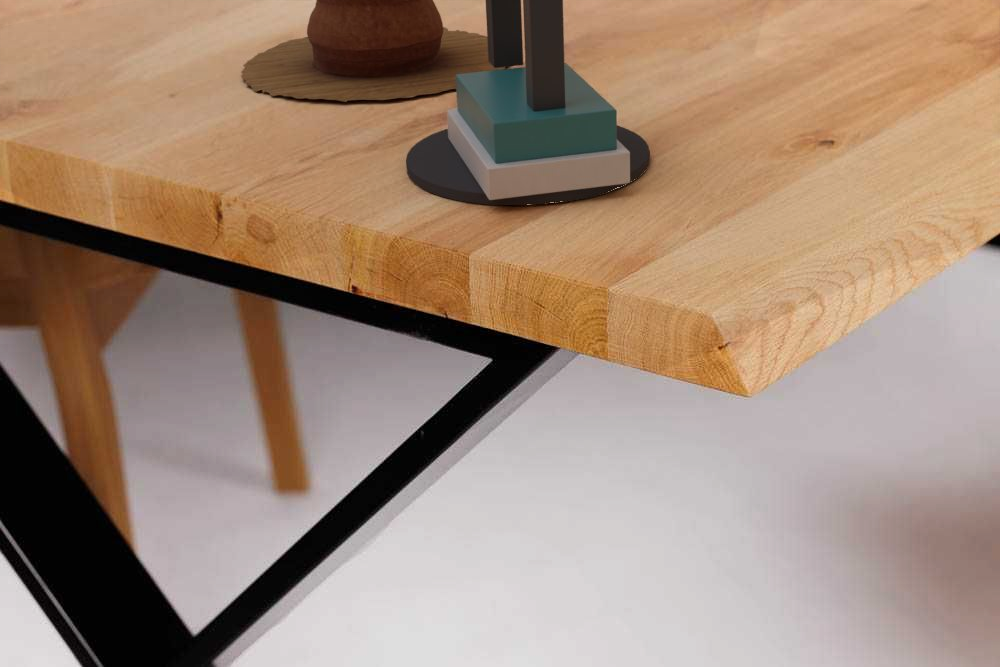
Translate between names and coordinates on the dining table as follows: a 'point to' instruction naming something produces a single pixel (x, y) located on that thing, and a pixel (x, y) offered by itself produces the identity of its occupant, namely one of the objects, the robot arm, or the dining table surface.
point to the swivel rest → (451, 178)
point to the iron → (533, 112)
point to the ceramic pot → (369, 53)
